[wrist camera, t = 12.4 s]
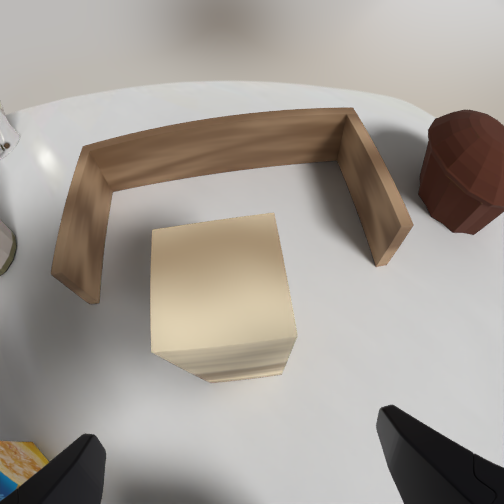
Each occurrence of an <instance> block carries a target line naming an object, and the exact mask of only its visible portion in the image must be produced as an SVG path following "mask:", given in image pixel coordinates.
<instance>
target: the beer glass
mask: <svg viewBox="0 0 504 504" xmlns="http://www.w3.org/2000/svg"><path fill="white" fill-rule="evenodd" d="M19 140H20V135H19V134H18V132H17V131H16V130H15V129H14V128H13V127H12V126H11V125H10V123H9V122H8V120H7V118H6V116H5V113H4V110H3V107H2V104H1V102H0V160H1V159H3V158H4V157H6V156H7V155H8V154H9V153H10V152H11V151H12V150H13V149H14V148H15V147H16V145H17V144H18V142H19Z"/></svg>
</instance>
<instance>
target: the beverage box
mask: <svg viewBox="0 0 504 504" xmlns="http://www.w3.org/2000/svg"><path fill="white" fill-rule="evenodd" d="M48 463H49V461H48V460H47V459H46V457H45V456H44V455H43V454H42V453H41V451H40V450H39V449H38V448H37V447H36V445H35V444H34V443H33V442H14V441H0V501H1V500H2V499H4V498H5V497H6V496H8V495H9V494H10V493H12V492H13V491H14V490H15V489H17V488H18V487H19V486H21V485H22V484H23V483H24V482H26V481H27V480H28V479H29V478H31V477H32V476H33V475H34V474H35V473H37V472H38V471H39V470H40V469H42V468H43V467H44V466H45V465H46V464H48Z"/></svg>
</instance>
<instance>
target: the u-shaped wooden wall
mask: <svg viewBox="0 0 504 504" xmlns="http://www.w3.org/2000/svg"><path fill="white" fill-rule="evenodd" d="M325 161H337V162H338V164H339V167H340V169H341V172H342V174H343V176H344V179H345V181H346V184H347V186H348V189H349V192H350V194H351V197H352V199H353V202H354V205H355V207H356V210H357V213H358V215H359V218H360V221H361V224H362V227H363V229H364V232H365V235H366V238H367V241H368V244H369V247H370V250H371V253H372V256H373V259H374V262H375V265H376V267H378V266H384V265H387V264H388V262H389V261H390V259H391V258H392V257H393V255H394V254H395V252H396V251H397V249H398V248H399V246H400V245H401V243H402V242H403V240H404V239H405V237H406V236H407V234H408V233H409V231H410V230H411V228H412V227H413V222H412V220H411V218H410V216H409V213H408V211H407V209H406V207H405V204H404V202H403V200H402V198H401V196H400V194H399V191H398V189H397V187H396V185H395V183H394V181H393V179H392V177H391V175H390V173H389V171H388V169H387V167H386V165H385V163H384V161H383V159H382V157H381V156H380V154H379V152H378V150H377V148H376V146H375V145H374V143H373V141H372V139H371V137H370V136H369V134H368V132H367V130H366V129H365V127H364V125H363V123H362V122H361V120H360V118H359V117H358V115H357V113H356V112H355V110H354V108H314V109H295V110H281V111H269V112H258V113H249V114H240V115H232V116H224V117H217V118H210V119H204V120H197V121H191V122H186V123H180V124H175V125H169V126H164V127H159V128H154V129H150V130H145V131H141V132H136V133H132V134H128V135H123V136H119V137H115V138H112V139H108V140H104V141H100V142H97V143H93V144H89V145H86V146H83V148H82V151H81V153H80V156H79V159H78V162H77V166H76V169H75V172H74V175H73V178H72V182H71V185H70V189H69V192H68V196H67V200H66V203H65V207H64V211H63V215H62V219H61V223H60V228H59V232H58V237H57V242H56V247H55V252H54V257H53V263H52V269H51V275H53V276H54V277H55V278H56V279H57V280H59V281H60V282H61V283H63V284H64V285H65V286H66V287H68V288H69V289H70V290H71V291H73V292H74V293H75V294H77V295H78V296H79V297H81V298H82V299H83V300H85V301H86V302H87V303H89V304H96V303H99V301H100V286H101V275H102V264H103V255H104V246H105V239H106V231H107V224H108V217H109V211H110V205H111V199H112V193H113V192H114V191H119V190H124V189H129V188H134V187H139V186H144V185H149V184H155V183H160V182H166V181H172V180H177V179H183V178H190V177H196V176H202V175H209V174H216V173H223V172H230V171H238V170H245V169H253V168H262V167H271V166H280V165H290V164H301V163H312V162H325Z"/></svg>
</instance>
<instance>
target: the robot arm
mask: <svg viewBox="0 0 504 504" xmlns="http://www.w3.org/2000/svg"><path fill="white" fill-rule="evenodd" d="M376 429H377V433H378V436H379V439H380V442H381V446H382V449H383V452H384V455H385V459H386V462H387V465H388V468H389V471H390V473H391V475H392V478H393V480H394V482H395V484H396V486H397V489H398V491H399V493H400V495H401V498H402V500H403V502H404V504H504V468H503V467H501V466H499V465H496V464H494V463H492V462H490V461H488V460H486V459H484V458H482V457H480V456H479V455H477V454H473V452H471V451H470V450H468V449H466V448H464V447H463V446H461V445H459V444H457V443H456V442H454V441H452V440H450V439H449V438H447V437H445V436H444V435H442V434H440V433H439V432H437V431H435V430H433V429H432V428H430V427H428V426H427V425H425V424H424V423H422V422H420V421H419V420H417V419H415V418H414V417H412V416H410V415H409V414H407V413H406V412H404V411H402V410H401V409H399V408H398V407H396V406H394V405H388V406H384V407H381V408H380V410H379V413H378V419H377V423H376ZM105 462H106V451H105V449H104V447H103V446H102V444H101V443H100V441H99V439H98V438H97V437H96V436H95V435H94V434H83V435H81V436H80V437H79V438H78V439H77V440H75V441H74V442H73V443H72V444H71V445H69V446H68V447H67V448H66V449H65V450H63V451H62V452H61V453H60V454H59V455H57V456H56V457H55V458H54V459H53V460H51V461H50V462H49V463H48V464H46V465H45V466H44V467H43V468H42V469H40V470H39V471H38V472H37V473H35V474H34V475H33V476H32V477H31V478H29V479H28V480H27V481H26V482H24V483H23V484H22V485H21V486H19V487H18V488H17V489H15V490H14V491H13V492H12V493H10V494H9V495H8V496H6V497H5V498H4V499H2V500H1V501H0V504H101V499H102V493H103V485H104V473H105Z"/></svg>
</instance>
